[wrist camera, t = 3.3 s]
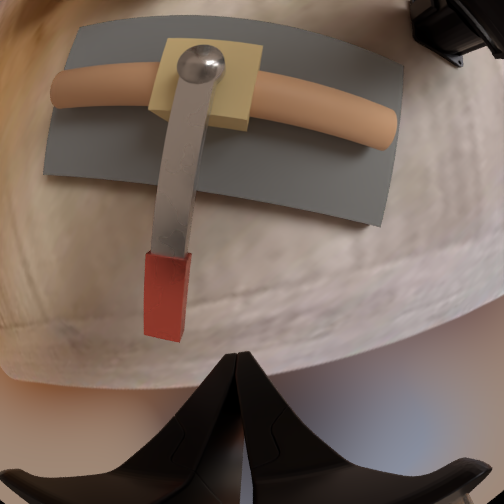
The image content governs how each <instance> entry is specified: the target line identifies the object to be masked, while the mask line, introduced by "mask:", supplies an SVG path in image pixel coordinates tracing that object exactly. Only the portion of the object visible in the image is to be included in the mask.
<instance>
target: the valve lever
mask: <svg viewBox="0 0 504 504" xmlns="http://www.w3.org/2000/svg"><path fill="white" fill-rule="evenodd" d="M177 72H178V74H179V80H178V84H177V88H176V92H175V96H174V100H173V104H172V109H171V113H170V118H169V123H168V128H167V133H166V138H165V143H164V149H163V155H162V161H161V167H160V173H159V180H158V187H157V195H156V203H155V211H154V221H153V231H152V242H151V250H150V251H149V252H148V253H146V259H145V279H144V335H147V336H152V337H156V338H160V339H165V340H170V341H174V342H179V343H180V340H181V338H182V335H183V332H184V326H185V314H186V303H187V292H188V283H189V273H190V264H191V256H192V253H188V246H189V238H190V230H191V223H192V216H193V209H194V202H195V195H196V189H197V183H198V177H199V171H200V165H201V159H202V154H203V148H204V143H205V138H206V133H207V128H208V123H209V118H210V113H211V109H212V104H213V99H214V95H215V91H216V86H217V84H218V83H220V82H221V80H222V79H223V78H224V76H225V73H226V65H225V59H224V56H223V54H222V52H221V51H220V50H219V49H218V48H216V47H214V46H211V45H204V44H203V45H196V46H193V47H191V48H189V49H187V50H186V51H185V52H184V53H183V54H182V55H181V56H180V58H179V60H178V62H177Z"/></svg>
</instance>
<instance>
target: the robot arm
mask: <svg viewBox="0 0 504 504" xmlns="http://www.w3.org/2000/svg"><path fill="white" fill-rule="evenodd" d="M410 3H411V5H410V11H411V21H412V29H413V38H414V39H415V41H417V42H419V43H420V44H422V45H424V46H426V47H427V48H429V49H431V50H433V51H434V52H436V53H437V54H439V55H441V56H442V57H444V58H445V59H447V60H448V61H450V62H451V63H453V64H454V65H456V66H457V67H459V68H460V67H463V56H462V55H464V54H466V53H469V52H471V51H474V50H477V49H479V48H482V47H485V46H487V47H488V48H489V49H490V51H491V52H492V55H493V56H494V58H495V59H504V0H410ZM244 437H245V443H246V448H247V454H248V460H249V466H250V470H251V476H252V484H253V504H474V503H473V501H472V499H471V497H470V495H469V494H468V493H470V492H471V491H472V490H473V489H474V488H475V487H476V486H477V485H478V484H479V483H481V482H482V481H483V480H484V479H485V478H486V477H487V476H488V475H489V473H490V472H491V471H492V467H491V466H490V465H488V464H486V463H485V462H483V461H480V460H475V459H470V458H460V459H458V460H455V461H453V462H451V463H450V464H448V465H446V466H444V467H442V468H441V469H439V470H437V471H434V472H432V473H430V474H426V475H422V476H403V475H397V474H392V473H387V472H382V471H377V470H373V469H369V468H365V467H361V466H358V465H355V464H353V463H351V462H349V461H348V460H346V459H344V458H343V457H342V456H341V455H339V454H338V453H337V452H336V451H334V450H333V449H332V448H331V447H329V446H328V445H327V444H326V443H325V442H324V441H322V440H321V439H320V438H319V437H318V436H316V435H315V434H314V433H313V432H312V431H311V430H310V429H309V428H308V427H307V426H306V425H305V424H304V423H303V422H302V421H301V419H300V418H299V417H298V416H297V415H296V414H295V412H294V411H293V410H292V408H291V407H290V406H289V405H288V404H287V402H286V401H285V399H284V398H283V397H282V395H281V394H280V393H279V391H278V390H277V389H276V387H275V386H274V385H273V383H272V382H271V380H270V379H269V378H268V376H267V375H266V374H265V372H264V371H263V369H262V368H261V367H260V365H259V364H258V362H257V361H256V360H255V358H254V357H253V355H252V354H251V352H249V351H245V352H239V353H238V354H237V353H230V354H225V355H224V356H223V357H222V359H221V360H220V361H219V362H218V364H217V365H216V366H215V367H214V368H213V370H212V371H211V372H210V373H209V375H208V376H207V377H206V378H205V379H204V381H203V382H202V383H201V384H200V386H199V387H198V388H197V389H196V390H195V392H194V393H193V394H192V395H191V396H190V398H189V399H188V400H187V401H186V402H185V403H184V405H183V406H182V407H181V408H180V409H179V410H178V412H177V413H176V414H175V416H173V417H172V418H171V420H170V421H169V422H168V423H167V424H166V425H165V426H164V427H163V428H162V430H161V431H160V432H159V433H158V434H157V435H156V436H154V437H153V438H152V439H151V440H150V441H149V442H148V443H147V444H146V445H145V446H143V447H142V448H141V449H140V450H139V451H138V452H136V453H135V454H134V455H133V456H132V457H130V458H129V459H128V460H127V461H126V462H124V463H123V464H122V465H121V466H119V467H118V468H116V469H114V470H112V471H110V472H107V473H102V474H96V475H87V476H76V477H59V478H44V477H38V476H34V475H31V474H29V473H27V472H25V471H23V470H21V469H7V470H3V471H1V472H0V480H1V481H2V482H3V483H4V484H5V485H6V486H8V487H9V488H10V489H11V490H12V491H14V492H15V493H16V494H18V495H19V496H20V497H21V498H23V499H24V500H25V501H26V502H28V503H29V504H240V490H241V476H242V461H243V447H244ZM0 504H5V503H4V502H2V501H1V500H0ZM487 504H504V490H503V491H502V492H501V493H500V494H499V495H497V496H496V497H495V498H494V499H492V500H491V501H490V502H488V503H487Z"/></svg>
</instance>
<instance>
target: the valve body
mask: <svg viewBox="0 0 504 504" xmlns="http://www.w3.org/2000/svg"><path fill="white" fill-rule="evenodd" d="M203 44H204V45H211V46H214V47H216V48H218V49H219V50H220V51H221V52H222V54H223V56H224V59H225V65H226V73H225V76H224V78H223V79H222V80H221V82H220V83H218V84H217V86H216V91H215V95H214V99H213V104H212V109H211V113H210V118H209V123H208V128H207V133H206V138H205V143H204V148H203V154H202V159H201V165H200V171H199V177H198V183H197V189H196V191H202V192H208V193H214V194H221V195H227V196H233V197H239V198H244V199H250V200H256V201H261V202H267V203H272V204H277V205H282V206H287V207H292V208H297V209H302V210H307V211H312V212H317V213H321V214H326V215H330V216H335V217H339V218H344V219H348V220H352V221H357V222H361V223H365V224H369V225H373V226H377V227H381V223H382V219H383V215H384V210H385V206H386V201H387V197H388V192H389V187H390V182H391V177H392V171H393V166H394V160H395V153H396V147H397V140H398V132H399V124H400V115H401V105H402V93H403V76H404V66H403V65H401V64H399V63H397V62H394V61H392V60H390V59H388V58H385V57H383V56H381V55H379V54H376V53H374V52H371V51H369V50H366V49H364V48H361V47H358V46H356V45H353V44H350V43H347V42H344V41H341V40H338V39H335V38H332V37H328V36H325V35H322V34H318V33H314V32H311V31H307V30H303V29H299V28H294V27H290V26H285V25H280V24H275V23H269V22H263V21H257V20H249V19H241V18H232V17H220V16H201V15H170V16H151V17H139V18H130V19H122V20H115V21H109V22H103V23H98V24H93V25H88V26H83V27H80V28H79V30H78V33H77V35H76V38H75V40H74V43H73V45H72V48H71V51H70V53H69V56H68V59H67V62H66V65H65V68H64V71H61V72H59V73H58V74H57V75H56V76H55V78H54V80H53V82H52V85H51V89H50V98H51V102H52V104H53V105H54V108H53V113H52V118H51V123H50V128H49V134H48V140H47V146H46V153H45V161H44V170H43V175H58V176H72V177H85V178H96V179H106V180H116V181H126V182H135V183H143V184H151V185H158V180H159V173H160V167H161V161H162V155H163V149H164V143H165V138H166V133H167V128H168V123H169V118H170V113H171V109H172V104H173V100H174V96H175V92H176V88H177V84H178V80H179V74H178V72H177V62H178V60H179V58H180V56H181V55H182V54H183V53H184V52H185V51H186V50H187V49H189V48H191V47H193V46H196V45H203Z"/></svg>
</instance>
